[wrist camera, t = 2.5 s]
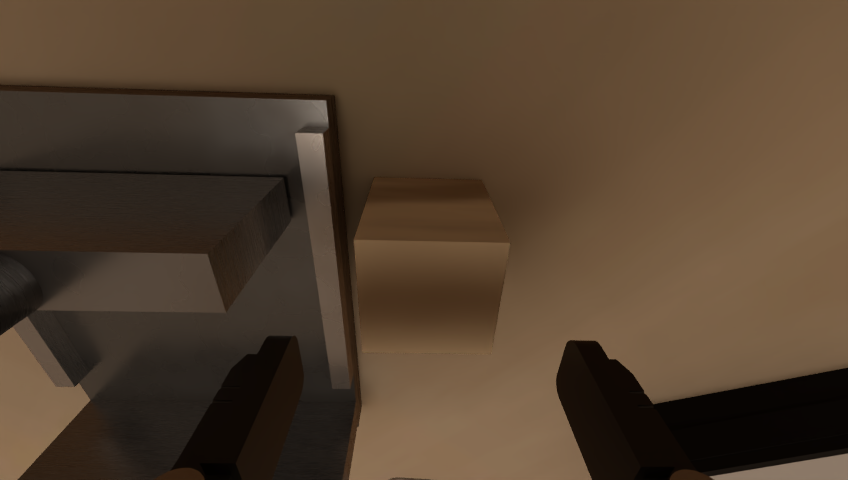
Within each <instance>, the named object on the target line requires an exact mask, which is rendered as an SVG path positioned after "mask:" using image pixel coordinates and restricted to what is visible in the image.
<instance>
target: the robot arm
mask: <svg viewBox="0 0 848 480" xmlns="http://www.w3.org/2000/svg"><path fill="white" fill-rule="evenodd" d="M303 382H304V371H303V366H302V360H301V355H300V350H299V344H298V340H297V337H296V336H271V335H270V336H268V337H267V338H266V339H265V341H264V342H263V344H262V346H261V348H260V350H259V352H258V354H247V355H246V356H244V357H243V358H242V359H241V360H240V361H239V362H238V363H237V364H236V365H235V366H233V367H232V368H231V370H230V371H229V373H228V375H227V376H226V378H225V380H224V382H223V383H222V385H221V389H219V390H218V392H217V394H216V395H215V397H214V399H213V402H212V404H210V405H209V407H208V409H207V411H206V412H205V414H204V416H203V417H202V419H201V421H200V422H199V424H198V426H197V428H196V429H195V431H194V433H193V434H192V436H191V438H190V439H189V441H188V443H187V445H186V446H185V448H184V450H183V451H182V453H181V455H180V456H179V458H178V460H177V461H176V463H175V464H174V466H173V467H172V468H171V470H170V471H168V472H166V473H164V474H162V475H160V476H159V477H157V478H155V479H154V480H272V479H273V476H274V473H275V470H276V467H277V464H278V461H279V458H280V455H281V452H282V449H283V446H284V443H285V440H286V437H287V434H288V432H289V429H290V426H291V423H292V420H293V417H294V414H295V411H296V408H297V405H298V402H299V399H300V396H301V393H302V389H303ZM556 386H557V392H558V396H559V399H560V401H561V404H562V406H563V409H564V411H565V414H566V416H567V419H568V421H569V424H570V426H571V429H572V431H573V434H574V436H575V439H576V441H577V443H578V446H579V448H580V451H581V453H582V456H583V458H584V461H585V463H586V466H587V468H588V471H589V473H590V476H591V478H592V480H714V479H712V478H711V477H709V476H707V475H705V474H703V473H700V472H698V471H697V470H696V469H695V467H694V466H693V464H692V463H691V461H690V460H689V458H688V457H687V455H686V454H685V452H684V451H683V449H682V448H681V446H680V445H679V443H678V442H677V440H676V439H675V437H674V436H673V434H672V433H671V431H670V430H669V428H668V427H667V425H666V424H665V422H664V421H663V419H662V418H661V416H660V414H659V413H658V411H657V410H656V409H654V408H653V404H652V402H651V401H650V399H649V398H648V396H647V395H646V394H644V390H643V389H642V387H641V386H640V384H639V383H638V381H637V380H636V378H635V377H634V375H633V374H632V373H631V372H630V371H629V370H628V369H626V368H625V367H624V366H623V365H622V364H621V363H620V362H619V361H617V360H616V359H608V357H607V355H606V354H605V352H604V350H603V349H602V347H601V346H600V344H599V343H598V342H596V341H575V340H570V341H568V342H567V344H566V347H565V350H564V353H563V357H562V360H561V363H560V367H559V370H558V373H557V378H556Z"/></svg>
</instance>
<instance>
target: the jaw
mask: <svg viewBox="0 0 848 480" xmlns="http://www.w3.org/2000/svg"><path fill="white" fill-rule="evenodd" d="M290 222H291V217H290V211H289V206H288V200H287V194H286V188H285V182H284V178H283V177H242V176H200V175H159V174H117V173H76V172H34V171H0V335H1V334H3V333H4V332H6V331H7V330H9V329H10V328H11V327H13V326H14V325H16V324H17V323H19V322H20V321H21V320H23V319H24V318H26V317H27V316H29V315H30V314H31V313H33V312H34V311H36V310H58V311H131V312H205V313H226V312H227V311H228V309H229V308H230V306H231V305H232V304H233V302H234V301H235V299H236V298H237V297H238V295H239V294H240V292H241V291H242V290H243V288H244V287H245V285H246V284H247V283H248V281H249V280H250V278H251V277H252V276H253V274H254V273H255V271H256V270H257V268H258V267H259V266H260V264H261V263H262V261H263V260H264V259H265V257H266V256H267V254H268V253H269V252H270V250H271V249H272V247H273V246H274V245H275V243H276V242H277V240H278V239H279V238H280V236H281V235H282V233H283V232H284V231H285V229H286V228H287V226H288V225H289V224H290Z"/></svg>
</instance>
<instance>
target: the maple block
mask: <svg viewBox="0 0 848 480" xmlns="http://www.w3.org/2000/svg"><path fill="white" fill-rule="evenodd" d="M510 244H511V243H510V241H509V238H508V236H507V234H506V232H505V230H504V228H503V225H502V223H501V221H500V219H499V217H498V215H497V212H496V210H495V208H494V206H493V204H492V201H491V199H490V197H489V195H488V193H487V191H486V188H485V186H484V184H483V182H482V180H472V179H432V178H391V177H374V179H373V182H372V186H371V189H370V192H369V195H368V198H367V201H366V204H365V207H364V210H363V213H362V216H361V219H360V222H359V225H358V228H357V231H356V234H355V237H354V251H355V264H356V277H357V290H358V303H359V316H360V329H361V342H362V353H421V354H491V352H492V347H493V341H494V335H495V330H496V324H497V318H498V312H499V307H500V301H501V295H502V289H503V284H504V278H505V272H506V266H507V261H508V255H509V249H510Z"/></svg>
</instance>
